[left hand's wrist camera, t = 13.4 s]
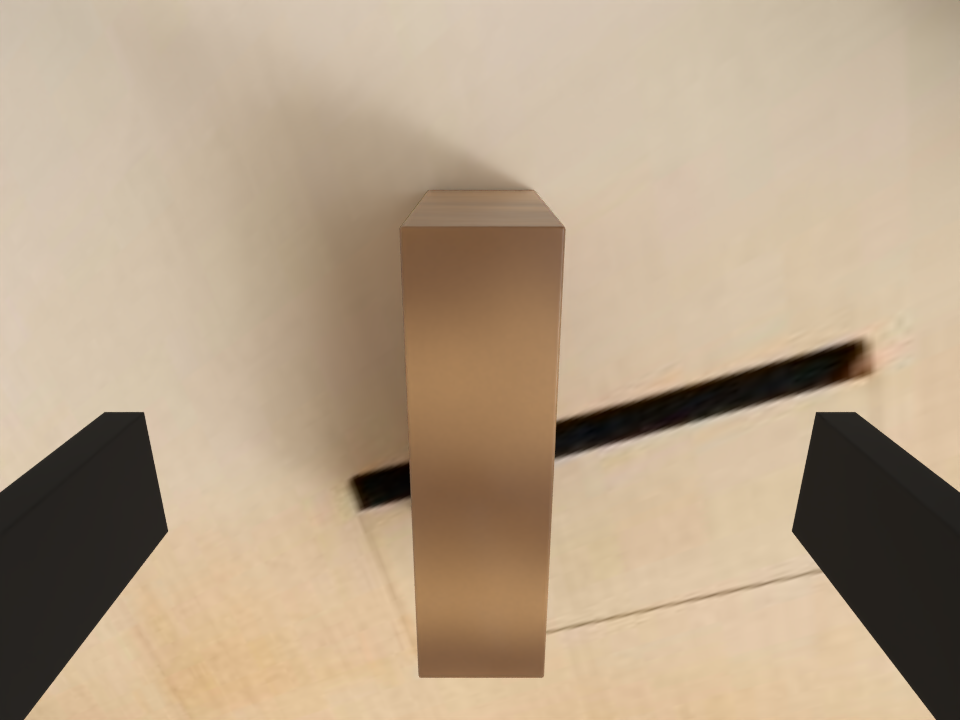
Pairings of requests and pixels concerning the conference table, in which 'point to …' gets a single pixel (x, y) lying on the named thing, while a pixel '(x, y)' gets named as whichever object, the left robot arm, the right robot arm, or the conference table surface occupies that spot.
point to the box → (481, 425)
